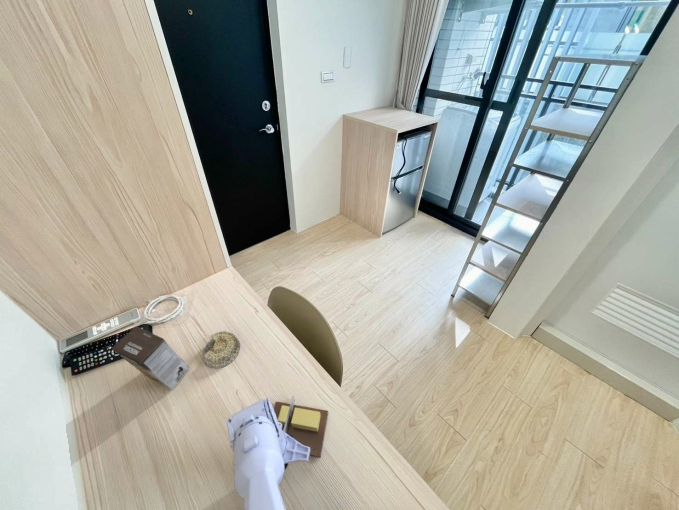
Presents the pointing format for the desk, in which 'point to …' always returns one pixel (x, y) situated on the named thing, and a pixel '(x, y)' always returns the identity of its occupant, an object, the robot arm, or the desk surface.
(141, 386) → the desk surface
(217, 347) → the ammonite fossil
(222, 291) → the desk surface
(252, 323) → the desk surface
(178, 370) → the coffee box
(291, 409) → the knife
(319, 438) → the butter board
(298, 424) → the butter
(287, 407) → the butter pat
